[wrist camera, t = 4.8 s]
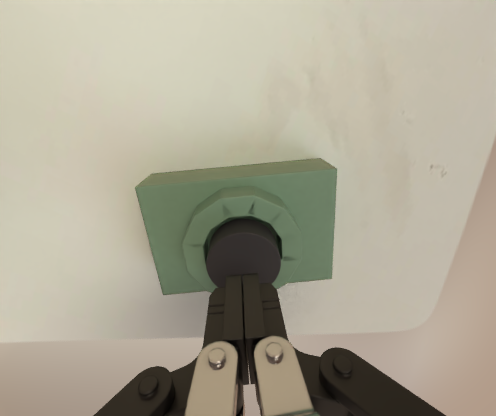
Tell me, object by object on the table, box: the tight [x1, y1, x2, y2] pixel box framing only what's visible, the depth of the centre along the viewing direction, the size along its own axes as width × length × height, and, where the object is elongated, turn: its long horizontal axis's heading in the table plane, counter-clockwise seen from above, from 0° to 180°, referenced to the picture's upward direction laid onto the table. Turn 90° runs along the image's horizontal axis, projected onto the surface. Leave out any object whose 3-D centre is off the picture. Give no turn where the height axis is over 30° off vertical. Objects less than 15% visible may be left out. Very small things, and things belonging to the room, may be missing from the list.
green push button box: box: [135, 158, 337, 295], centre depth 17 cm, size 12×8×5 cm, turn 95°
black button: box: [206, 219, 281, 288], centre depth 14 cm, size 4×4×2 cm
